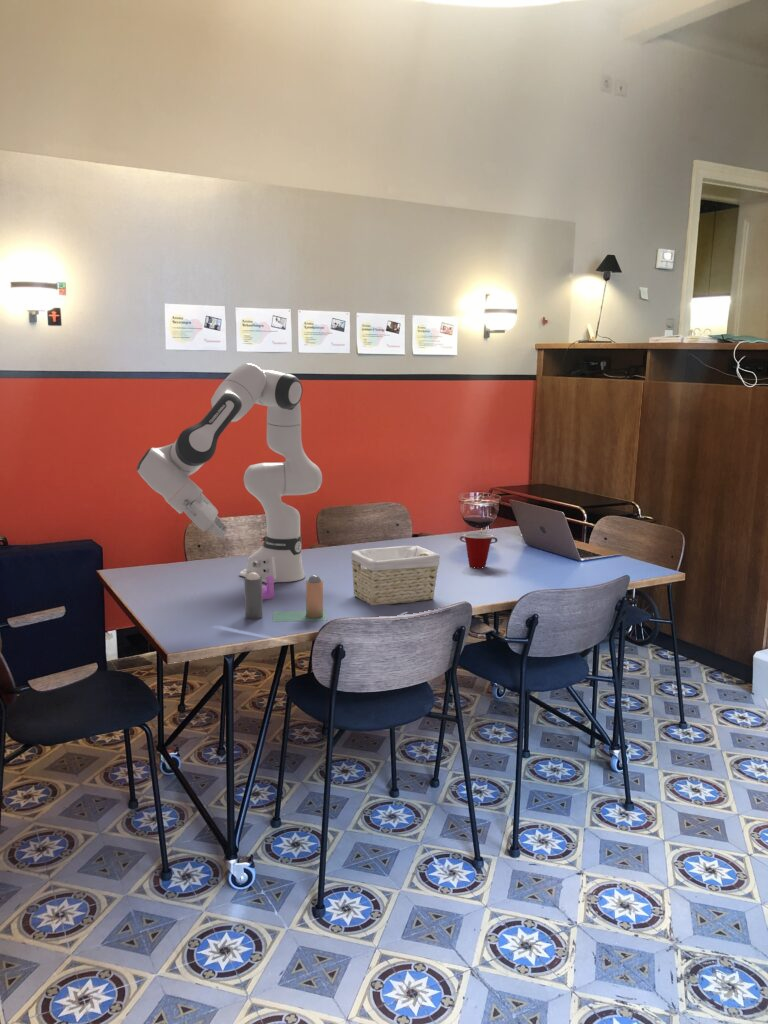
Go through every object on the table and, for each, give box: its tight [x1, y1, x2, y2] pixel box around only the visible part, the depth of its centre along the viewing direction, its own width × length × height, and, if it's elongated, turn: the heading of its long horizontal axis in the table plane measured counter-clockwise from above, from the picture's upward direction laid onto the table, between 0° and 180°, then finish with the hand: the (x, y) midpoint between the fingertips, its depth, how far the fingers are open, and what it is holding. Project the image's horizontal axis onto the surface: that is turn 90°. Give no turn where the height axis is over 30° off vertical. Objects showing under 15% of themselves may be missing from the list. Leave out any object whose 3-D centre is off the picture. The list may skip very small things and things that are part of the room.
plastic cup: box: [463, 532, 494, 569], centre depth 283 cm, size 11×11×12 cm
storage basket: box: [350, 545, 441, 606], centre depth 243 cm, size 24×16×15 cm
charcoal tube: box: [244, 572, 263, 621], centre depth 219 cm, size 5×5×14 cm
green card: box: [272, 610, 328, 623], centre depth 222 cm, size 15×9×1 cm, turn 97°
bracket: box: [262, 575, 275, 601], centre depth 246 cm, size 13×6×7 cm, turn 21°
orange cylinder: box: [305, 574, 324, 618], centre depth 221 cm, size 5×5×12 cm
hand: (224, 533), depth 216 cm, fingers open, 8 cm apart
